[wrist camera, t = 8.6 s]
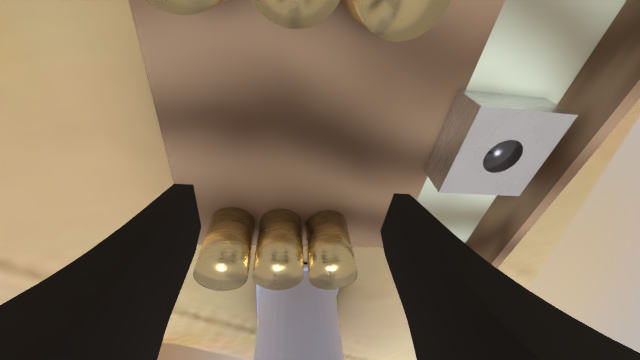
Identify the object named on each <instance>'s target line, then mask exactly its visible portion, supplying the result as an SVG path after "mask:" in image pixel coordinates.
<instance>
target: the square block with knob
mask: <svg viewBox="0 0 640 360" xmlns="http://www.w3.org/2000/svg"><path fill="white" fill-rule="evenodd" d="M577 116H578V115H577V114H575V113H573V112H571V111H569V110H567V109H565V108H563V107H561V106H559V105H557V104H555V103H553V102H551V101H549V100H547V99H545V98H538V97H528V96H518V95H508V94H498V93H488V92H479V91H469V90H459V89H458V91H457V93H456V95H455V98H454V100H453V103H452V105H451V107H450V110H449V112H448V114H447V117H446V119H445V121H444V124H443V126H442V128H441V131H440V133H439V136H438V138H437V140H436V143H435V145H434V147H433V150H432V152H431V154H430V157H429V159H428V161H427V164H426V166H425V169H424V171H425V173H426V174H427V176H428V177H429V179H430V180H431V182H432V183H433V185H434V186H435V188H436V189H437V191H438V192H439V193H458V194H480V195H503V196H520V194H521V193H522V192H523V190H524V189H525V188H526V186H527V185H528V183H529V182H530V181H531V179H532V178H533V177H534V175H535V174H536V172H537V171H538V170H539V168H540V167H541V166H542V164H543V163H544V162H545V160H546V159H547V157H548V156H549V155H550V153H551V152H552V151H553V149H554V148H555V146H556V145H557V144H558V142H559V141H560V140H561V138H562V137H563V135H564V134H565V133H566V131H567V130H568V129H569V127H570V126H571V124H572V123H573V122H574V120H575V119H576V118H577Z"/></svg>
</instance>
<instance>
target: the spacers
mask: <svg viewBox="0 0 640 360" xmlns="http://www.w3.org/2000/svg"><path fill="white" fill-rule="evenodd" d="M146 1H147V2H149V3H150V4H152V5H153V6H155V7H157V8H158V9H161V10H163V11H165V12H168V13H171V14H176V15H194V14H198V13H201V12H203V11H205V10H207V9H210V8H212V7H214V6H216V5H218V4H221V3H223V2H225V1H227V0H146ZM251 1H252V2H253V4H254V5H255V6H256V8H257V9H258V10H259V11H260V12H261V13H262V14H263V15H264V16H265V17H266V18H267V19H269V20H270V21H272V22H273V23H275V24H277V25H279V26H282V27H285V28H289V29H305V28H309V27H312V26H315V25H317V24H319V23H320V22H322V21H323V20H325V19H326V18H327V17H328V16H329V15H330V14H331V13H332V12H333V11H334V9H335V8H336V7H337V5H338V3H339V2H340V0H251ZM450 2H451V0H341V3H342V5H343V7H344V8H345V10H346V11H347V12H348V13H349V14H350V15H351V16H352V17H353V18H354V19H356V20H357V21H358V22H360V23H361V24H362V25H364V26H365V27H366V28H368V29H369V30H370V31H372V32H373V33H374V34H376V35H377V36H379V37H380V38H382V39H385V40H388V41H394V42H401V41H407V40H411V39H414V38H416V37H418V36H420V35H422V34H424V33H425V32H427V31H428V30H429V29H430V28H432V27H433V26H434V25H435V24H436V23H437V22H438V21H439V19H440V18H441V17H442V15H443V14H444V13H445V11H446V9H447V8H448V6H449V4H450ZM254 230H255V220H254V218H253V216H252V215H251V214H250V213H249V212H247V211H245V210H243V209H241V208H236V207H225V208H221V209H219V210H217V211H216V212H215V213H214V214H213V215H212V217H211V220H210V223H209V226H208V229H207V232H206V235H205V238H204V241H203V244H202V247H201V250H200V254H199V257H198V260H197V263H196V266H195V269H194V272H193V276H194V279H195V280H196V281H197V282H198V283H199V284H200V285H202V286H203V287H206V288H208V289H212V290H218V291H228V290H233V289H237V288H239V287H241V286H242V285H244V284H245V283H246V281H247V279H248V272H249V265H250V258H251V251H252V244H253V237H254ZM306 242H307V261H308V279H309V282H310V283H311V284H312V285H313V286H314V287H316V288H319V289H323V290H335V289H340V288H343V287H346V286H348V285H350V284H351V283H352V282H353V281H354V280H355V279H356V277H357V268H356V263H355V259H354V254H353V250H352V245H351V240H350V236H349V231H348V227H347V222H346V219H345V217H344V216H343V215H342V214H341V213H339V212H336V211H332V210H324V211H320V212H317V213H315V214H313V215H312V216H310V217H309V219H308V220H307V222H306ZM303 278H304V264H303V238H302V221H301V218H300V217H299V215H298V214H296V213H295V212H293V211H291V210H288V209H274V210H270V211H268V212H266V213H265V214H264V215H263V216H262V217H261V219H260V222H259V230H258V238H257V245H256V253H255V261H254V269H253V280H254V281H255V283H256V284H257V285H259V286H260V287H263V288H265V289H269V290H286V289H290V288H293V287H295V286H297V285H298V284H299V283H300V282H301V281H302V280H303Z"/></svg>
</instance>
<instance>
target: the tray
mask: <svg viewBox="0 0 640 360" xmlns="http://www.w3.org/2000/svg"><path fill="white" fill-rule="evenodd" d="M129 4H130V8H131V12H132V16H133V20H134V24H135V28H136V32H137V36H138V40H139V44H140V48H141V52H142V56H143V60H144V64H145V68H146V72H147V76H148V80H149V84H150V88H151V92H152V96H153V100H154V104H155V108H156V112H157V116H158V121H159V125H160V129H161V133H162V137H163V141H164V145H165V149H166V153H167V157H168V161H169V165H170V169H171V173H172V177H173V181H174V184H193V186H194V191H195V196H196V201H197V207H198V212H199V217H200V222H201V230H200V235H199V239H198V243H197V244H203V241H204V238H205V235H206V232H207V229H208V226H209V223H210V220H211V217H212V215H213V214H214V213H215V212H216V211H217V210H219V209H221V208H225V207H236V208H241V209H243V210H245V211H247V212H249V213H250V214H251V215H252V216H253V218H254V220H255V230H254V237H253V244H252V245H257V238H258V230H259V222H260V219H261V217H262V216H263V215H264V214H265V213H266V212H268V211H270V210H274V209H288V210H291V211H293V212H295V213H296V214H298V215H299V217H300V218H301V221H302V238H303V246H307V242H306V222H307V220H308V219H309V217H310V216H312V215H313V214H315V213H317V212H320V211H324V210H332V211H336V212H339V213H341V214H342V215H343V216H344V217H345V219H346V222H347V227H348V231H349V236H350V240H351V245H352V247H383V243H382V237H381V232H380V230H381V228H382V225H383V222H384V219H385V216H386V214H387V211H388V208H389V205H390V203H391V200H392V197H393V194H394V193H399V194H410V195H411V196H412V197H413V198H415V199H416V200H417V201H418V202H419V203H420V204H421V205H422V206H424V207H425V208H426V209H427V210H428V211H429V212H430V213H431V214H432V215H433V216H434V217H436V218H437V219H438V220H439V221H440V222H441V223H442V224H443V225H444V226H446V227H447V228H448V229H449V230H450V231H451V232H452V233H453V234H455V235H456V236H457V237H458V238H459V239H460V240H462V241H463V242H464V243H465V244H466V245H468V246H469V247H470V248H471V249H472V250H474V251H475V252H476V253H477V254H479V255H480V256H481V257H482V258H484V259H485V260H486V261H488V262H489V263H490V264H492V265H493V266H494V267H496V268H498V267H499V266H500V264H501V263H502V262H503V261H504V260H505V258H506V257H507V256H508V255H509V254H510V252H511V251H512V250H513V249H514V248H515V246H516V245H517V244H518V243H519V242H520V240H521V239H522V238H523V237H524V236H525V235H526V233H527V232H528V231H529V230H530V229H531V227H532V226H533V225H534V224H535V223H536V221H537V220H538V219H539V218H540V217H541V215H542V214H543V213H544V212H545V211H546V209H547V208H548V207H549V206H550V205H551V203H552V202H553V201H554V200H555V199H556V198H557V196H558V195H559V194H560V193H561V192H562V190H563V189H564V188H565V187H566V186H567V184H568V183H569V182H570V181H571V180H572V178H573V177H574V176H575V175H576V174H577V172H578V171H579V170H580V169H581V168H582V166H583V165H584V164H585V163H586V162H587V160H588V159H589V158H590V157H591V156H592V155H593V153H594V152H595V151H596V150H597V149H598V147H599V146H600V145H601V144H602V143H603V141H604V140H605V139H606V138H607V137H608V135H609V134H610V133H611V132H612V131H613V129H614V128H615V127H616V126H617V125H618V123H619V122H620V121H621V120H622V119H623V118H624V116H625V115H626V114H627V113H628V112H629V110H630V109H631V108H632V107H633V106H634V104H635V103H636V102H637V101H638V100H639V98H640V0H451V2H450V4H449V6H448V8H447V9H446V11H445V13H444V14H443V15H442V17H441V18H440V19H439V21H438V22H437V23H436V24H435V25H434V26H433V27H432V28H430V29H429V30H428V31H427V32H425V33H424V34H422V35H420V36H418V37H416V38H414V39H411V40H407V41H401V42H394V41H388V40H385V39H382V38H380V37H379V36H377V35H376V34H374V33H373V32H372V31H370V30H369V29H368V28H366V27H365V26H364V25H362V24H361V23H360V22H358V21H357V20H356V19H354V18H353V17H352V16H351V15H350V14H349V13H348V12H347V11H346V10H345V8H344V7H343V5H342V3H341V0H340V2H339V3H338V5H337V7H336V8H335V9H334V11H333V12H332V13H331V14H330V15H329V16H328V17H327V18H326V19H325V20H323V21H322V22H320V23H319V24H317V25H315V26H312V27H309V28H305V29H289V28H285V27H282V26H279V25H277V24H275V23H273V22H272V21H270V20H269V19H267V18H266V17H265V16H264V15H263V14H262V13H261V12H260V11H259V10H258V9H257V8H256V6H255V5H254V4H253V2H252V1H251V0H227V1H225V2H223V3H221V4H218V5H216V6H214V7H212V8H210V9H207V10H205V11H203V12H201V13H198V14H194V15H176V14H171V13H168V12H165V11H163V10H161V9H158V8H157V7H155V6H153V5H152V4H150V3H149V2H147V1H146V0H129ZM458 89H459V90H469V91H479V92H488V93H498V94H508V95H518V96H528V97H538V98H545V99H547V100H549V101H551V102H553V103H555V104H557V105H559V106H561V107H563V108H565V109H567V110H569V111H571V112H573V113H575V114H577V115H578V116H577V118H576V119H575V120H574V122H573V123H572V124H571V126H570V127H569V129H568V130H567V131H566V133H565V134H564V135H563V137H562V138H561V140H560V141H559V142H558V144H557V145H556V146H555V148H554V149H553V151H552V152H551V153H550V155H549V156H548V157H547V159H546V160H545V162H544V163H543V164H542V166H541V167H540V168H539V170H538V171H537V172H536V174H535V175H534V177H533V178H532V179H531V181H530V182H529V183H528V185H527V186H526V188H525V189H524V190H523V192H522V193H521V194H520V196H503V195H480V194H458V193H439V192H438V191H437V189H436V188H435V186H434V185H433V183H432V182H431V180H430V179H429V177H428V176H427V174H426V173H425V171H424V169H425V166H426V164H427V161H428V159H429V157H430V154H431V152H432V150H433V147H434V145H435V143H436V140H437V138H438V136H439V133H440V131H441V128H442V126H443V124H444V121H445V119H446V117H447V114H448V112H449V110H450V107H451V105H452V103H453V100H454V98H455V95H456V93H457V91H458Z"/></svg>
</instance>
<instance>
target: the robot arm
mask: <svg viewBox="0 0 640 360" xmlns="http://www.w3.org/2000/svg"><path fill="white" fill-rule="evenodd" d="M200 230H201V222H200V217H199V212H198V207H197V201H196V196H195V191H194V186H193V184H173V185H172V186H171V187H170V188H168V189H167V190H166V191H165V192H164V193H162V194H161V195H160V196H159V197H158V198H156V199H155V200H154V201H153V202H152V203H150V204H149V205H148V206H147V207H146V208H144V209H143V210H142V211H141V212H140V213H138V214H137V215H136V216H135V217H133V218H132V219H131V220H130V221H128V222H127V223H126V224H125V225H123V226H122V227H121V228H119V229H118V230H117V231H115V232H114V233H113V234H111V235H110V236H108V237H107V238H106V239H104V240H103V241H102V242H100V243H99V244H98V245H96V246H95V247H94V248H92V249H91V250H89V251H88V252H87V253H85V254H84V255H82V256H81V257H79V258H78V259H76V260H75V261H73V262H72V263H70V264H69V265H67V266H65V267H64V268H62V269H61V270H59V271H58V272H56V273H54V274H53V275H51V276H50V277H48V278H47V279H45V280H43V281H42V282H40V283H38V284H37V285H35V286H33V287H31V288H30V289H28V290H26V291H24V292H23V293H21V294H19V295H17V296H16V297H14V298H12V299H10V300H9V301H7V302H5V303H3V304H2V305H0V360H157V358H158V355H159V351H160V347H161V344H162V341H163V337H164V333H165V330H166V327H167V324H168V321H169V318H170V316H171V313H172V310H173V308H174V305H175V303H176V300H177V298H178V295H179V293H180V290H181V288H182V285H183V282H184V280H185V277H186V275H187V272H188V270H189V267H190V264H191V262H192V259H193V257H194V254H195V251H196V247H197V243H198V239H199V235H200ZM380 232H381V237H382V243H383V247H384V252H385V256H386V259H387V262H388V265H389V268H390V271H391V274H392V277H393V280H394V282H395V285H396V288H397V291H398V294H399V297H400V299H401V302H402V305H403V308H404V311H405V314H406V317H407V321H408V324H409V328H410V332H411V336H412V340H413V345H414V349H415V353H416V357H417V360H640V353H638V352H636V351H634V350H633V349H631V348H629V347H627V346H625V345H623V344H621V343H619V342H617V341H615V340H612V339H611V338H609V337H607V336H605V335H603V334H601V333H599V332H598V331H596V330H594V329H592V328H591V327H589V326H587V325H585V324H584V323H582V322H580V321H578V320H576V319H575V318H573V317H571V316H569V315H568V314H566V313H564V312H563V311H561V310H559V309H558V308H556V307H554V306H552V305H551V304H549V303H548V302H546V301H545V300H543V299H541V298H540V297H538V296H537V295H535V294H533V293H532V292H530V291H529V290H527V289H526V288H524V287H523V286H521V285H520V284H518V283H517V282H515V281H514V280H512V279H511V278H510V277H508V276H507V275H505V274H504V273H503V272H501V271H500V270H498V269H497V268H496V267H494V266H493V265H492V264H490V263H489V262H488V261H486V260H485V259H484V258H482V257H481V256H480V255H479V254H477V253H476V252H475V251H474V250H472V249H471V248H470V247H469V246H468V245H466V244H465V243H464V242H463V241H462V240H460V239H459V238H458V237H457V236H456V235H455V234H453V233H452V232H451V231H450V230H449V229H448V228H447V227H446V226H444V225H443V224H442V223H441V222H440V221H439V220H438V219H437V218H436V217H434V216H433V215H432V214H431V213H430V212H429V211H428V210H427V209H426V208H425V207H424V206H422V205H421V204H420V203H419V202H418V201H417V200H416V199H415V198H413V197H412V196H411V195H410V194H399V193H394V194H393V197H392V200H391V203H390V205H389V208H388V211H387V214H386V216H385V219H384V222H383V225H382V228H381V230H380ZM338 290H339V289H335V290H323V289H319V288H316V287H314V286H313V285H312V284H311V283H310V282H309V279H308V264H304V278H303V280H302V281H301V282H300V283H299V284H298V285H297V286H295V287H293V288H290V289H286V290H269V289H265V288H263V287H260V286H259V285H257V284H256V301H257V319H258V322H257V333H256V343H255V353H254V360H344V355H343V347H342V340H341V333H340V325H339V318H338V310H337V303H336V297H337V294H338Z"/></svg>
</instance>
